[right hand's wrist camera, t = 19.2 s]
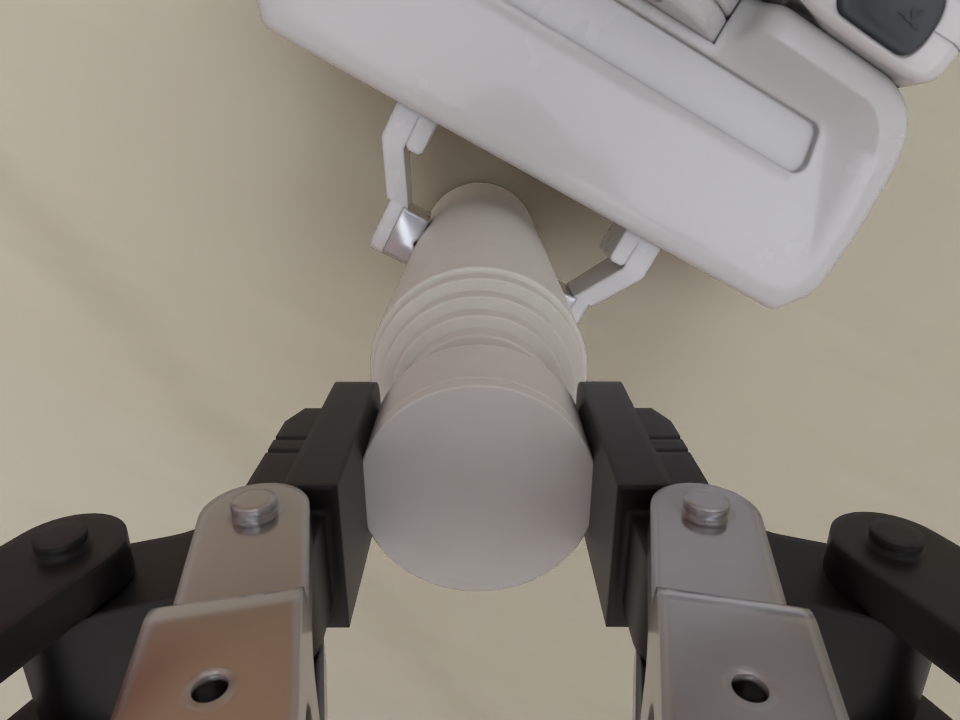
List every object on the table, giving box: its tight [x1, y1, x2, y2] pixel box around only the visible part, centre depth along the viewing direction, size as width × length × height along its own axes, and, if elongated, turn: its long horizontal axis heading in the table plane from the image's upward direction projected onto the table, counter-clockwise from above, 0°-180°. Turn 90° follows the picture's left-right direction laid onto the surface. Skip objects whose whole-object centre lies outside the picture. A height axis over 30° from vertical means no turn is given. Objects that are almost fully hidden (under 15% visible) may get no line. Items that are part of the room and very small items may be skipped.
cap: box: [363, 344, 593, 591], centre depth 11 cm, size 4×4×2 cm
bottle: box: [370, 182, 587, 404], centre depth 20 cm, size 5×5×20 cm
